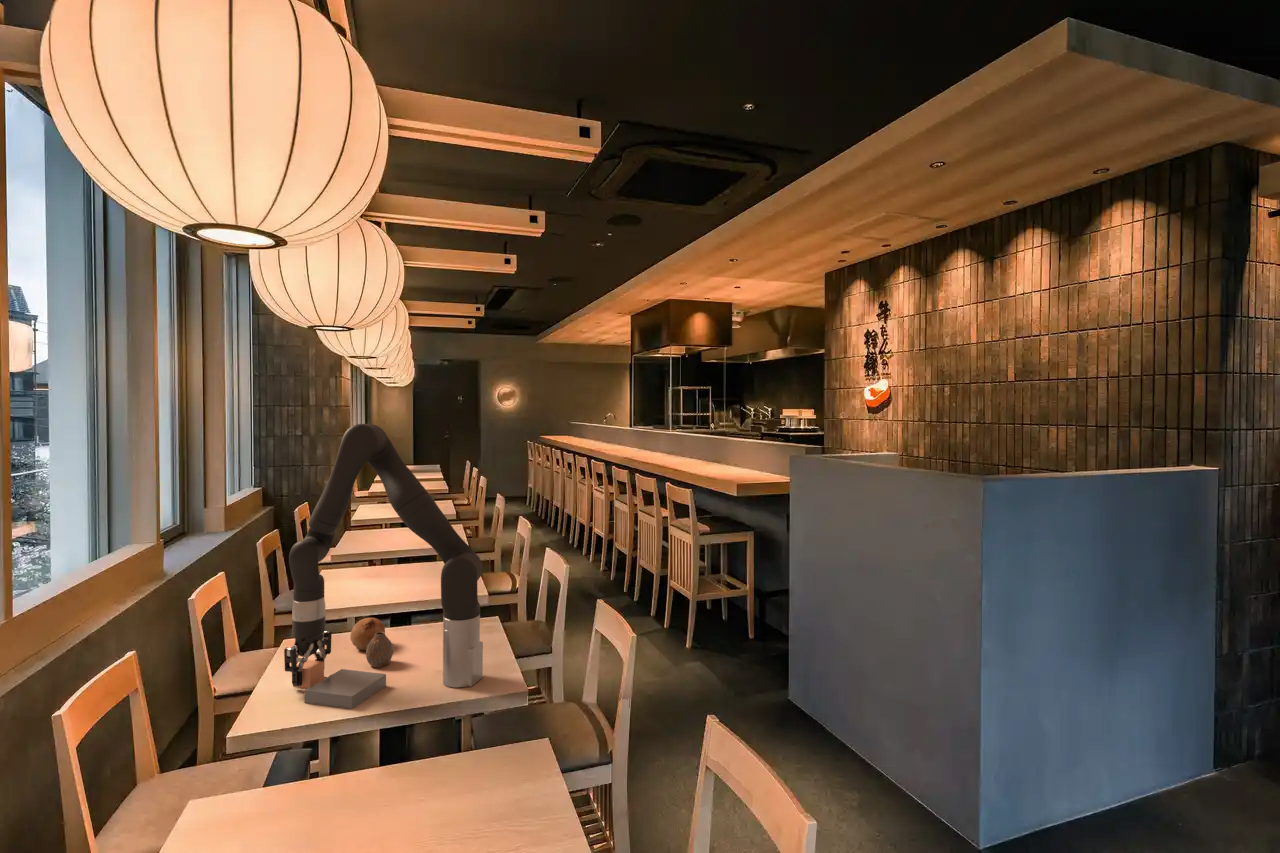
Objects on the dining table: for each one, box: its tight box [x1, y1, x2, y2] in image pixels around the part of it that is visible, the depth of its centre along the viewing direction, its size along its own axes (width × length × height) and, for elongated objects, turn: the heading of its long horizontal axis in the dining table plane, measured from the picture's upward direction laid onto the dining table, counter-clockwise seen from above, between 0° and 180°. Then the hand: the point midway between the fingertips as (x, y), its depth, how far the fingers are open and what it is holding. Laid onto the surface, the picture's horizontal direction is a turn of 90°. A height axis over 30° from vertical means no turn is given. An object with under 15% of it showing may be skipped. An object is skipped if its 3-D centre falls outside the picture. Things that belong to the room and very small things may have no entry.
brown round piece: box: [350, 617, 386, 651], centre depth 184 cm, size 10×9×10 cm
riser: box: [304, 668, 387, 710], centre depth 153 cm, size 13×13×3 cm
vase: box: [365, 632, 394, 668], centre depth 171 cm, size 7×7×9 cm
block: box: [292, 659, 325, 689], centre depth 159 cm, size 5×5×5 cm
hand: (308, 679), depth 159 cm, fingers open, 7 cm apart
